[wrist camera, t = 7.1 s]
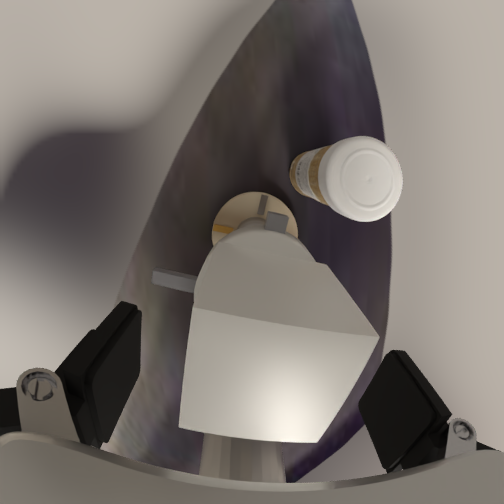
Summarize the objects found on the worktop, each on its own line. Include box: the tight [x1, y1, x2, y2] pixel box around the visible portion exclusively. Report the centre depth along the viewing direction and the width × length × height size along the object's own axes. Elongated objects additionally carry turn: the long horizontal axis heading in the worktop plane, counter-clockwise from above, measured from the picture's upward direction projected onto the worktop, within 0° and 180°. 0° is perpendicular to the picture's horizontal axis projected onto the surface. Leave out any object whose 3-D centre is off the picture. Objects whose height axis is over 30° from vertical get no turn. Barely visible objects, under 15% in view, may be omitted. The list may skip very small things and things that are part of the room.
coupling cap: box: [152, 211, 379, 442], centre depth 11 cm, size 9×8×8 cm
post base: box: [212, 192, 298, 246], centre depth 21 cm, size 8×8×12 cm
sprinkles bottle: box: [289, 136, 403, 222], centre depth 19 cm, size 5×5×14 cm
